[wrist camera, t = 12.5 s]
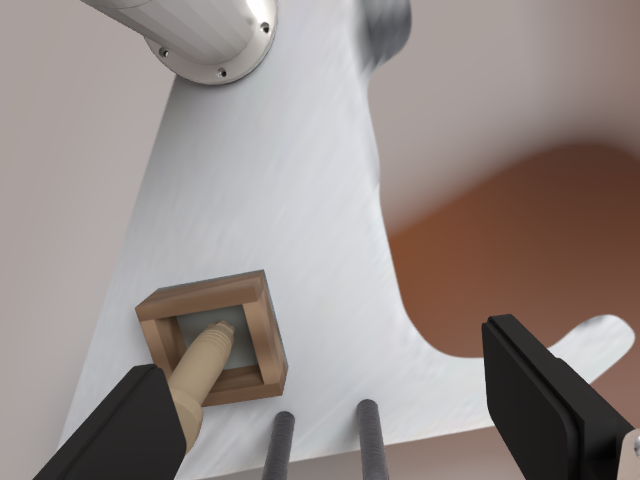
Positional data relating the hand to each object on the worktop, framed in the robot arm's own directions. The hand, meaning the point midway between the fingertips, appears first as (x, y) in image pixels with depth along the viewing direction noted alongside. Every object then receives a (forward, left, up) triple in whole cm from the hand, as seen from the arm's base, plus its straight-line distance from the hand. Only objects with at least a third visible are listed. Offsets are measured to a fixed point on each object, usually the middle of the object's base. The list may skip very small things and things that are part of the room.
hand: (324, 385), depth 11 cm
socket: (+11, -14, -28) cm, 33 cm away
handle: (+11, -14, -27) cm, 33 cm away
